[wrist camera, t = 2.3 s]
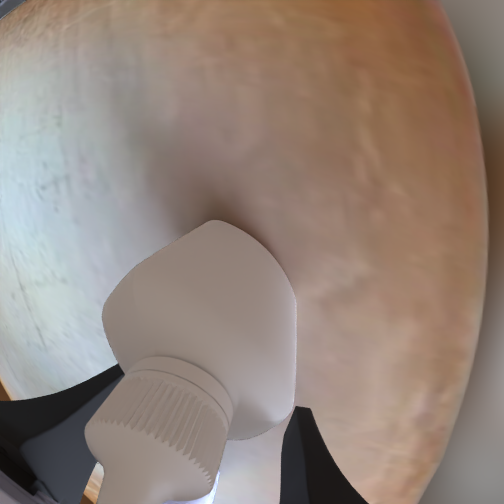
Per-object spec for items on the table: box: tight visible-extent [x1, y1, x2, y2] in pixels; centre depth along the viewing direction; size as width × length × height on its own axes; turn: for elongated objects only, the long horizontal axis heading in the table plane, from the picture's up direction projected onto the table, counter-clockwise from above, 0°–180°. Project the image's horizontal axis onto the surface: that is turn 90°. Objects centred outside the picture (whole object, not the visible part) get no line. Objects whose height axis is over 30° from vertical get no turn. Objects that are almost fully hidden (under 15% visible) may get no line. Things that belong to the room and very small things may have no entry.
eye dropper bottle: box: [84, 220, 296, 504], centre depth 8 cm, size 4×6×12 cm
